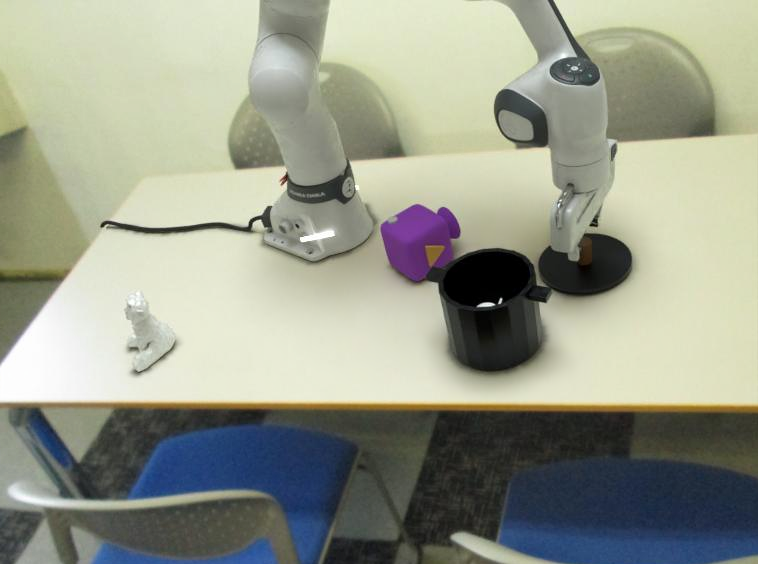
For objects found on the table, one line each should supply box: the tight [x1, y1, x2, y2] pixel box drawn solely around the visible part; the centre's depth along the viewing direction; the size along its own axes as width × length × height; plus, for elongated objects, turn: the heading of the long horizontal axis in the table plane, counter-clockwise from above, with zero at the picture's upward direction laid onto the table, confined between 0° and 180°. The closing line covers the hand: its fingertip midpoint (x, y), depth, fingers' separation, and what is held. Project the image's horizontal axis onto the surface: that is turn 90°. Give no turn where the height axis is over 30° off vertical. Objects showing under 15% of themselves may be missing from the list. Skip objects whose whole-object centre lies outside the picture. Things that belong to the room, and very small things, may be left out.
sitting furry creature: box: [123, 289, 176, 373], centre depth 139 cm, size 10×9×12 cm
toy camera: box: [379, 203, 462, 282], centre depth 143 cm, size 11×14×10 cm
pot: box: [425, 247, 553, 372], centre depth 124 cm, size 15×20×12 cm
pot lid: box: [537, 232, 633, 294], centre depth 135 cm, size 16×16×5 cm
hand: (585, 241), depth 134 cm, fingers open, 8 cm apart
